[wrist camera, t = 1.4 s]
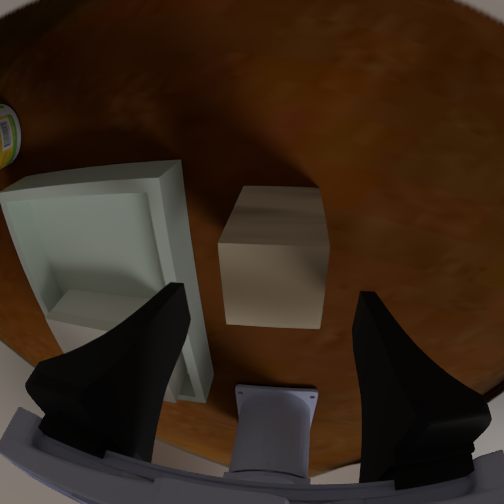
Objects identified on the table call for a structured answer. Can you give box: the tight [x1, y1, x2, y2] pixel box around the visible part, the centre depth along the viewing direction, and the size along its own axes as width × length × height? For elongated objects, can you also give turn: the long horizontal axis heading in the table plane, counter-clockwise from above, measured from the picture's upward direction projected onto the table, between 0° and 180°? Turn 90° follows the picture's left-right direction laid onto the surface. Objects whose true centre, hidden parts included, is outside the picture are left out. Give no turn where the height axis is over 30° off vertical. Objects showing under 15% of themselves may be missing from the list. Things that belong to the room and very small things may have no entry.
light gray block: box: [45, 289, 187, 403], centre depth 24 cm, size 8×10×4 cm
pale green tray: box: [0, 160, 214, 403], centre depth 23 cm, size 20×14×4 cm
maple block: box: [218, 186, 330, 329], centre depth 17 cm, size 4×4×7 cm
